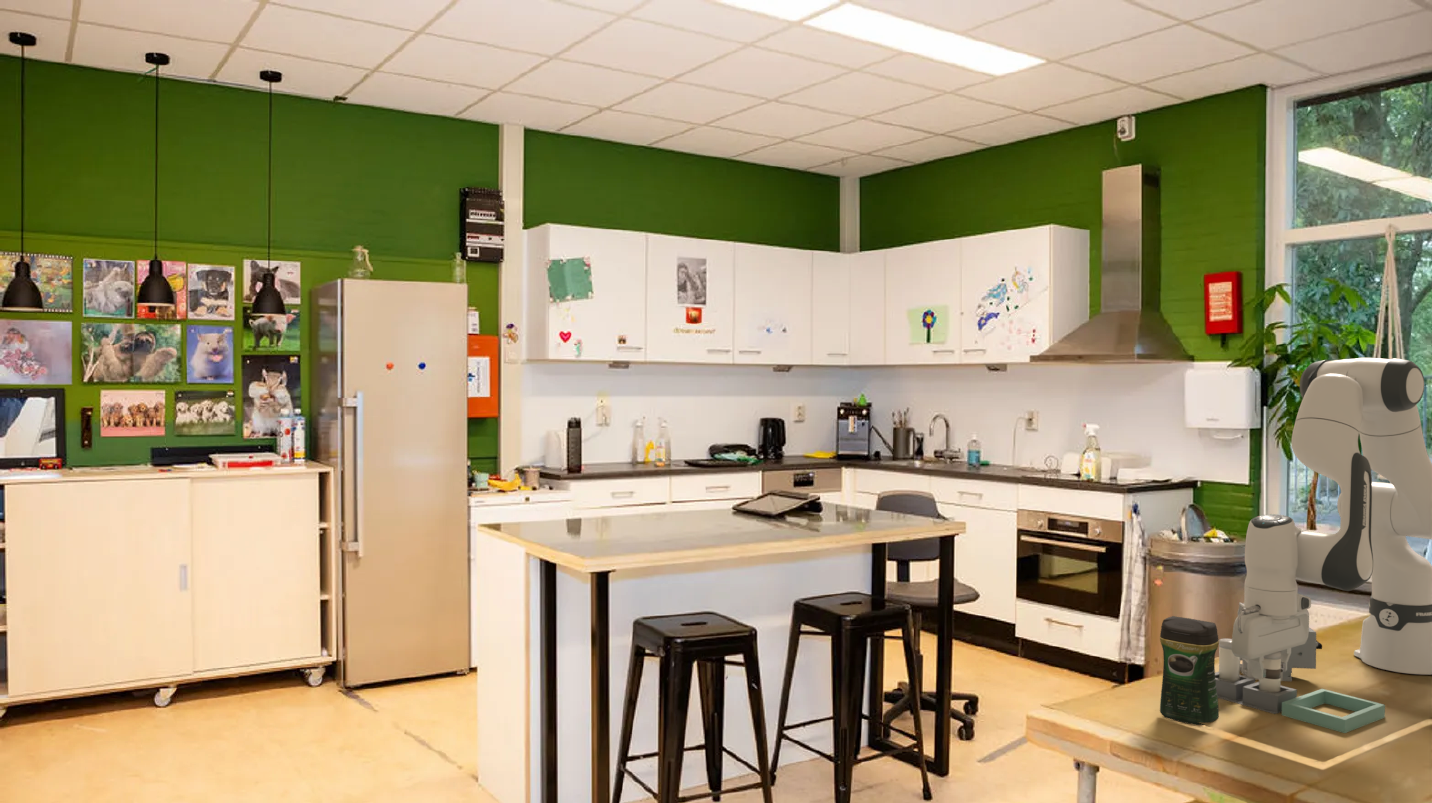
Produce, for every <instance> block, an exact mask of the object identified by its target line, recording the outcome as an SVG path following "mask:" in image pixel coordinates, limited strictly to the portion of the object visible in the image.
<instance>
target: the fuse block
mask: <svg viewBox="0 0 1432 803" xmlns="http://www.w3.org/2000/svg"><path fill="white" fill-rule="evenodd" d="M1215 680H1216V690H1217V698H1218V699H1221V700H1225V701H1229V702H1231V703H1235V704H1238V705H1242V706H1246V707H1248V708H1252V709H1256V710H1260V711H1263V712H1266V713H1270V714H1274V715H1277V714H1280V713H1282V702H1285V701H1288V700H1291V699H1294V698H1296V697H1298V689H1295V688H1292V687H1288V686H1284V685H1281V692H1279V693H1276V694H1274V693H1270V692H1267V691H1263V690H1259V681H1257V682H1256V680H1255V679H1254V678H1250V677H1246V676H1245V675H1243V674H1242V675H1241V674H1240V678H1239V681H1237V682H1234V683H1233V682H1230V681H1226V680H1222V679H1219V671H1215Z"/></svg>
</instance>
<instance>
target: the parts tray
mask: <svg viewBox="0 0 1432 803" xmlns="http://www.w3.org/2000/svg"><path fill="white" fill-rule="evenodd" d="M1324 704H1325V705H1330V706H1333V707H1337V708H1341V709H1345V710H1347V711H1348V710H1349V711H1352V712H1351V713H1350V714H1346V715H1344V716H1339V715H1337V714H1336V715H1335V714H1332V713H1328V712H1324V711H1320V710H1317V709H1314V708H1315V707H1318V706H1322V705H1324ZM1385 715H1386V705H1385V704H1383V703H1379V702H1376V701H1372V700H1367V699H1364V698H1360V697H1357V696H1353V695H1348V694H1344V693H1341V692H1336V691H1333V690H1330V689H1329V690H1328V689H1326V688H1325V689H1324V688H1320V689H1317V690H1315V691H1312V692H1308V693H1306V694H1302V695H1300V696H1297V697H1296V698H1294V699H1291V700H1288V701H1285V702H1282V712H1281V716H1283V717H1286V718H1290V719H1294V720H1297V721H1301V722H1305V723H1308V724H1311V725H1315V726H1318V727H1322V728H1325V729H1329V730H1332V731H1336V732H1339V733H1343V734H1346V733H1348V732H1351V731H1354V730H1356V729H1359V728H1362V727H1365V726H1367V725H1370V724H1372V723H1374V722H1377V721H1380V720H1382V719H1385V717H1386V716H1385Z"/></svg>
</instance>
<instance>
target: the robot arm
mask: <svg viewBox="0 0 1432 803" xmlns="http://www.w3.org/2000/svg"><path fill="white" fill-rule="evenodd" d="M1424 391H1425V378H1424V374H1423V371H1422V370H1421V368H1420V367H1419V366H1418V365H1417V364H1415V362H1414V361H1411V360H1407V359H1405V358H1404V359H1403V358H1397V357H1394V358H1391V359H1389V358H1379V357H1358V358H1343V359H1335V360H1330V359H1324V360H1318V361H1315V362H1312V363H1310V364H1309V365H1308V366H1307V367H1306V368H1305V369H1304V371H1303V372H1302V373H1301V377H1300V381H1299V393H1300V395H1301V397H1302V398H1301V403H1300V406H1299V408H1298V410H1297V411H1298V412H1297V415H1296V418H1295V421H1294V427H1293V429H1292V435H1291V449H1292V452H1293V453H1294V455H1295V457H1296V459H1298V460H1299V462H1301V463H1302V465H1304V466H1306V467H1307V468H1308V469H1310V470H1311V471H1313V472H1315V473H1317V474H1319V475H1322V476H1324V477H1326V478H1328V479H1329V480H1332V481H1334V482H1335V483H1337V485H1338V486H1339V488H1340V493H1339V495H1338V498H1337V502H1336V503H1337V504H1336V506H1337V512H1338V515H1339V518H1340V522H1339V524H1340V526H1339V530H1338V531H1337V532H1335V533H1328V532H1327V533H1326V532H1320V531H1317V532H1316V531H1311V530H1307V529H1302V528H1299V527H1298V526H1296V524H1295V523H1296V522H1295V520H1294V519H1293V518H1292V517H1290V516H1288V515H1284V514H1278V513H1275V514H1274V513H1273V514H1272V513H1270V514H1261V515H1258V516H1255V517H1253V518H1252V519H1250V521H1249V523H1248V527H1247V530H1246V537H1245V544H1244V564H1245V567H1246V576H1245V580H1244V591H1243V592H1244V595H1243V596H1244V598H1243V600H1244V601H1243V603H1244V608H1243V609H1242V612H1241V613H1240V615H1238V614H1237V617H1236V618H1235V620H1234V622H1233V626H1232V627H1233V628H1232V635H1231V636H1232V637H1231V639H1232V647H1231V648H1232V652H1233V654H1234V656H1236V657H1240V658H1244V659H1248V660H1249V662H1250V664H1251V666H1252V668H1253V670H1252V675H1253V677H1254V678H1258V679H1262V678H1265V677H1266V669H1265V668H1263V664H1262V661H1264V656H1265V655H1269V654H1272V653H1275V652H1279V651H1281V672H1284V671H1287V662H1288V660H1289V657H1290V655H1291V648H1293V647H1296V646H1299V645H1303V644H1305V643H1306V641H1307V639H1308V634H1309V628H1310V612H1309V609H1310V608H1311V606H1312V598H1311V597H1309V596H1307V595H1304V594H1300V593H1299V592H1298V591H1299V589H1298V583H1297V581H1296V580H1299V581H1301V582H1302V581H1303V582H1307V583H1311V584H1312V583H1313V584H1320V585H1325V586H1327V587H1330V588H1334V589H1338V590H1342V591H1345V592H1351V591H1353V590H1355V589H1357V588H1359V587H1361V586H1362V585H1364V584H1366V583H1367V582H1368V581H1369V580H1370V579H1371V595H1370V596H1369V601H1368V613H1369V616H1368V617H1366V618H1365V619H1363V621H1362V627H1361V636H1360V646H1359V649H1355V650H1354V651H1353V655H1354V656H1355V657H1357V658H1359V659H1360V660H1361V661H1362V662H1363V663H1364V664H1366V665H1369V666H1370V667H1374V668H1376V669H1377V668H1378V669H1381V670H1384V671H1385V670H1386V671H1390V672H1395V673H1401V674H1410V675H1432V564H1431V562H1430V561H1429V560H1428V559H1427V558H1425V557H1424V556H1422V555H1420V554H1419V553H1417V552H1416V551H1415V550H1414V549H1413V548H1412V547H1411V546H1410V543H1409V542H1408V540H1407V537H1409V538H1410V537H1411V538H1419V539H1426V540H1432V461H1431V459H1430V457H1429V454H1428V451H1427V447H1426V442H1425V438H1424V435H1423V434H1424V433H1423V427H1422V422H1421V418H1420V417H1421V416H1420V412H1419V408H1418V404H1419V403H1420V402H1421V400H1422V398H1423V395H1424ZM1359 439H1360V443H1361V444H1360V445H1361V446H1360V447H1361V450H1362V454H1361V452H1360V447H1359ZM1372 471H1373V472H1375V473H1376V474H1378V475H1380V476H1382V478H1384V479H1386V480H1387V481H1388V482H1382V481H1373V478H1372V477H1373V474H1372Z"/></svg>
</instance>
